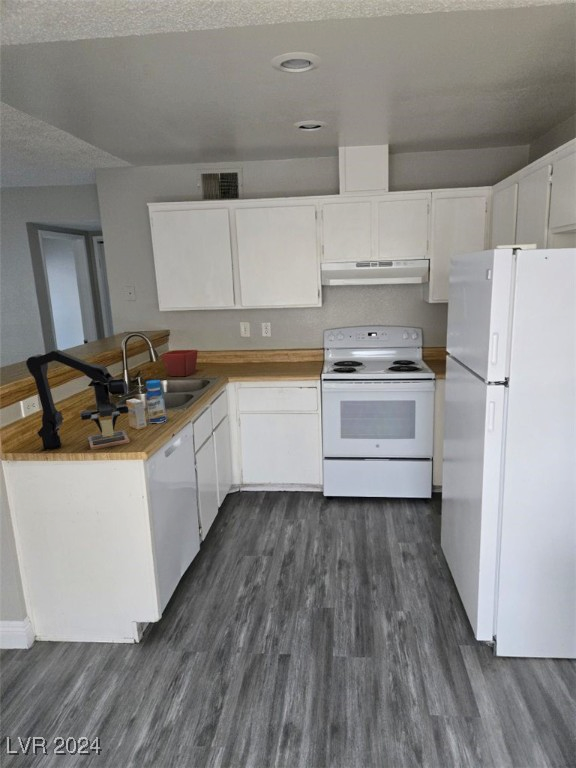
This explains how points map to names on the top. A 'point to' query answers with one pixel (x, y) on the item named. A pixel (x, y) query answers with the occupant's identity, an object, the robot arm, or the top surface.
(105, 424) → the pale yellow block
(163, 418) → the beverage bottle
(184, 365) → the plant pot
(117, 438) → the rail frame
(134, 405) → the supplement box
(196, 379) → the top surface
